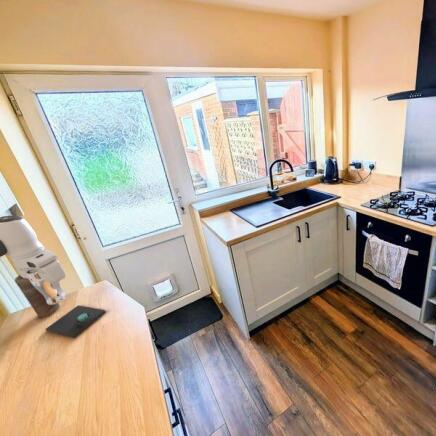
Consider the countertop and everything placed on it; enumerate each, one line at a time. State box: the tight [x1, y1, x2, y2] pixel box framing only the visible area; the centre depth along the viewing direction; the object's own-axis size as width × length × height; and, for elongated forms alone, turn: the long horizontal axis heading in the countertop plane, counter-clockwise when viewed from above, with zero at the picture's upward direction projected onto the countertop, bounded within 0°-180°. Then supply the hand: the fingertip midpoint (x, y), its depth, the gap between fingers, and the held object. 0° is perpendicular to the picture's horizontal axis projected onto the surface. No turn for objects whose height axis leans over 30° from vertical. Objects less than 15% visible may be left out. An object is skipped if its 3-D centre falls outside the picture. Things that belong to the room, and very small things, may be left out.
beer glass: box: [26, 270, 68, 305], centre depth 94 cm, size 7×7×15 cm
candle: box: [14, 274, 60, 318], centre depth 105 cm, size 8×7×20 cm
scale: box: [44, 305, 106, 339], centre depth 101 cm, size 16×13×3 cm
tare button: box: [78, 313, 88, 322], centre depth 99 cm, size 3×3×2 cm
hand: (50, 287), depth 95 cm, fingers closed on beer glass, 6 cm apart
